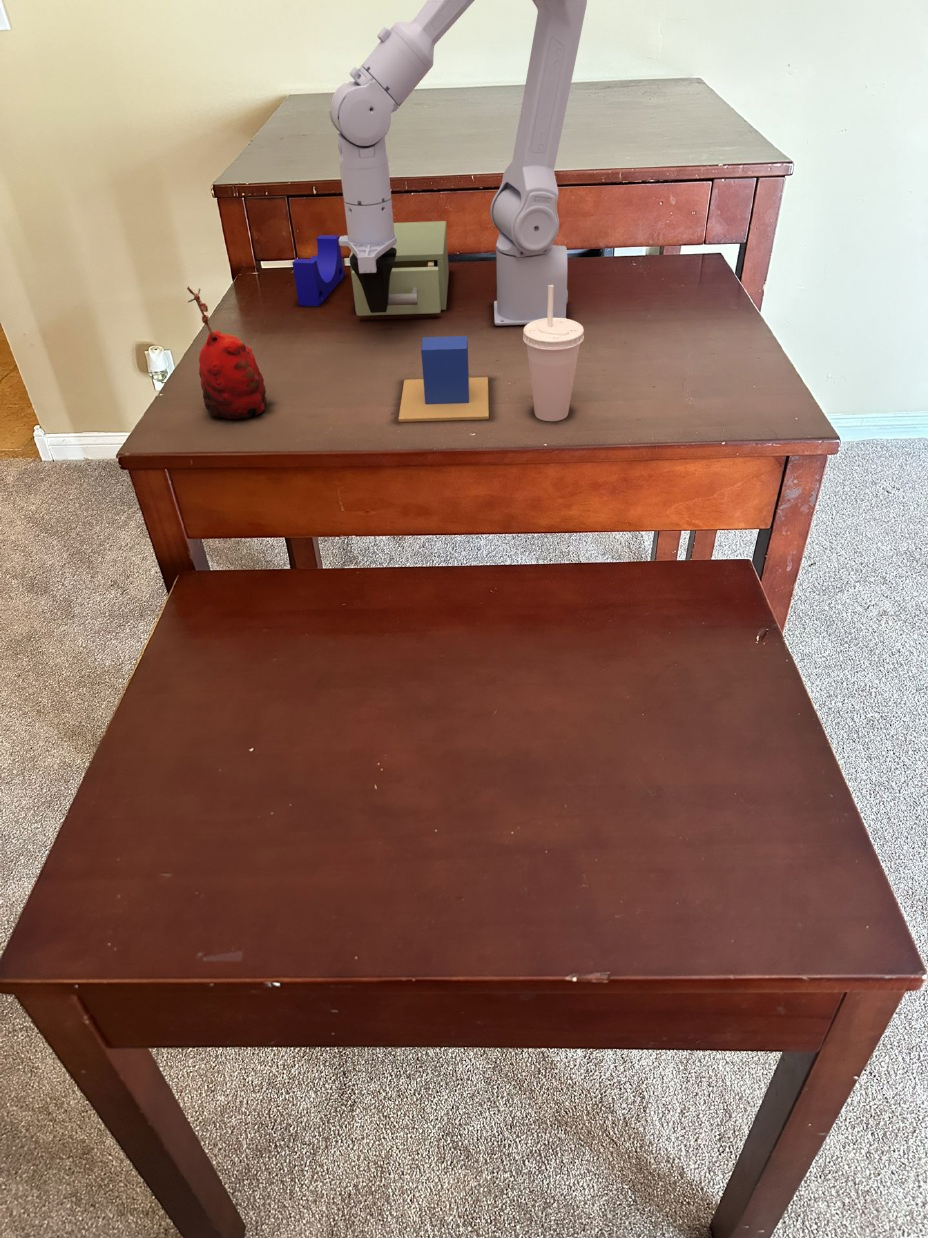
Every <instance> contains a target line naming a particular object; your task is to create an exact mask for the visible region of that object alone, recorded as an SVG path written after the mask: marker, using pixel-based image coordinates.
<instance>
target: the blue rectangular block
mask: <svg viewBox="0 0 928 1238" xmlns="http://www.w3.org/2000/svg"><path fill="white" fill-rule="evenodd" d="M421 340H422V341H421V348H420V352H421V366H422V379H423V381H424V395H425V404H453V403H469V378H470V372H469V370H470V369H469V345H468V343H469V342H468V340H469V339H468V336H467V335H458V336H457V335H455V336H430V337H429V336H424V337H422V339H421Z"/></svg>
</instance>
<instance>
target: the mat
mask: <svg viewBox="0 0 928 1238" xmlns="http://www.w3.org/2000/svg"><path fill="white" fill-rule="evenodd" d="M489 415H490V412H489V377H488V376H481V377H469V403H453V404H425V395H424V381H423V378H415V379H414V378H413V379H409V378H408V379H404V380H403V387H402V393H401V400H400V407H399V413H398V423H407V422H411V423H412V422H413V423H414V422H442V421H443V422H444V421H445V422H446V421H447V422H448V421H479V420H480V421H482V420H483V421H484V420H489V419H490V417H489Z"/></svg>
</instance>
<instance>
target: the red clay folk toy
mask: <svg viewBox="0 0 928 1238" xmlns="http://www.w3.org/2000/svg"><path fill="white" fill-rule="evenodd" d="M186 290H187V291H188V292H189V293H190V294H191V295H193V298H191V299H189V300H188V301H187V303H188V304H189V303H192V302H193V301H195V302H196V304H197V306H198V309H199V311H200V313H201V315H202V316H201V322H202V323H203V324H204V325H205V326H206V327H207V330H208V335H207V339H206V341H205V342H204V345H203V347H202V348H201V350H200V351H199V356H198V362H199V368H198V375H199V377H200V386H201V387H200V388H201V390H202V398H203V403H204V407H205V409H206V410H207V412H208V413H209V414H210V415H211V416H213V417H217V418H223V419H227V420H232V419H233V420H241V419H248V418H250V417H251V416H252V415H254V416H257V415H260V414H262V413H264V411H265V409H266V407H265V405H266V404H267V397H266V393H267V390H266V386H265V381H264V379H265V378H263V374H262V373H261V371H260V367H259V365H258V364H257V362H256V358H255V356H254V355H255V354H254V353H253V350H252V347H250V346H248V345H246V344H245V342H244V341H242V340H240V339H239V338H238V337H237V336H236V335H232V334H229V333H227V334H224V333H222V332H220V331H218V330H212V328H211V326H210V323H209V318H210V316H209V315H208V314H205V313H208V312H209V306H208V305H207V303H205V302H203V301H202V300H201V297H200V294H201V288H198V290H197V291H198V292H197V293H196V292H194V291H193V289H191V288H190V286H187V288H186Z"/></svg>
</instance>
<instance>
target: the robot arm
mask: <svg viewBox="0 0 928 1238" xmlns="http://www.w3.org/2000/svg"><path fill="white" fill-rule="evenodd" d="M475 1H476V0H426V2H425V3H424V4H423V6H422V7H421V9H420V10H419V11H418V12H417V14H416V15H415V16H414V18H413V20H411V21H397V22H395V23H394V24H393V25H392V26H391V28H390V29H389V28H388V27H386V26H383V28H382V29H381V30H380V31H379V33H378V34H377V38H378V40H379V43H378V44H377V45H376V47H374V49H373V50H372V51H371V53H370V54H369V55H368V56H367V58H366V59H365V60H364V62H363V63H362V64H361V65H360V66H359V68H357V67H356V66H354V67H353V68H352V69H351V71H350V72H349V76H350V77H351V78H352V79H353V80H351V81H348V82H344V83H342V84H341V85H339V86H338V88H336V90H335V92H333V95H332V97H331V103H330V109H328V115H329V119H330V121H331V124H332V126H334V128H335V129H336V131H338V132H339V133H337V148H338V152H339V157H338V164H339V172H340V179H341V188H342V189H341V190H342V197H343V204H344V214H345V215H344V216H345V223H346V232H347V235H341V236H339V245H340V247H347V248H349V250H350V252H351V251H352V252H353V254H352V256H351V257H350V256H349V257H350V259H349V266H351V267H350V269H351V268H352V270H353V271H354V272H355V274H356V275H357V277H358V279H359V281H360V283H361V286H362V288H363V291H364V294H365V298H366V301H367V304H368V307H369V309H370V312H371V313H382V312H386V311H387V306H388V299H389V285H390V275H391V271H392V268H393V265H394V263H395V259H396V254H397V250H396V248H393V246H394V245H395V244H396V242H397V239H396V234H395V233H394V223H395V222H394V214H393V212H394V211H393V201H392V190H391V181H390V180H391V177H390V168H389V157H388V154H387V145H386V136H387V135H388V133H389V130H390V127H391V121H392V113H394V112H396V111H398V109H399V108H400V107H401V106H402V104H403V103H404V102H405V101H406V100H407V98H408V97H409V96H410V95H411V93H412V92H413V91H414V90H415V89H416V88H417V86H418V85H419V83H420V82H421V81H422V80H424V78H425V76H427V74H428V73H429V71H430V70H431V69H432V68H433V66H434V56H435V55H434V53H435V45H436V44H437V43H438V42H439V41H440V40H441V39H442V38H443V37H444V35H445V34H446V33H447V32H448V31H449V30H450V29H451V28H452V26H453V25H454V24H455V23H456V22H457V21H458V20H459V19H460V17H461V16H462V15H463V14H464V13H465V12H466V11H467V10H468V8H470V6H471V5H472V4H473V3H474V2H475ZM531 1H532V3H533V4H534V6H535V8H536V10H537V14H536V21H535V26H534V32H533V38H532V44H531V50H530V56H529V61H528V62H529V63H528V66H527V67H528V68H527V72H526V79H525V85H524V91H523V95H522V96H523V97H522V102H521V108H520V114H519V119H518V120H519V121H518V125H517V132H516V138H515V143H514V148H513V155H512V160H511V161H510V163H509V165H507V167H506V169H504V172H503V174H502V179H501V184H500V187H499V189H498V190H497V192H496V193H495V195H494V196H493V198H492V201H491V204H490V218H491V222H492V224H493V226H494V227H495V229H496V230H498V231H499V232H498V238H497V240H496V244H495V247H496V248H495V252H496V253H495V254H496V255H495V256H496V257H495V258H496V260H495V261H496V300H494V301H493V313H494V315H493V316H494V317H493V318H494V325H495V326H526V325H527V324H529V323H530V322H532V321H535V320H538V319H543V318H547V316H548V285H553V286H554V289H553V318H565V319H567V304H568V303H569V290H568V250H567V246H565V245H556V244H553V243H554V242H555V240H556V239H557V237H558V233H559V230H560V219H559V214H558V213H559V212H558V200H559V188H558V183H557V179H556V175H555V167H556V163H557V162H556V161H557V156H558V153H559V152H558V151H559V147H560V141H561V136H562V131H563V126H564V121H565V115H566V111H567V106H568V101H569V96H570V91H571V86H572V80H573V76H574V71H575V65H576V61H577V55H578V50H579V47H580V40H581V34H582V30H583V25H584V21H585V20H584V19H585V14H586V10H587V6H588V5H587V4H588V0H531Z"/></svg>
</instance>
